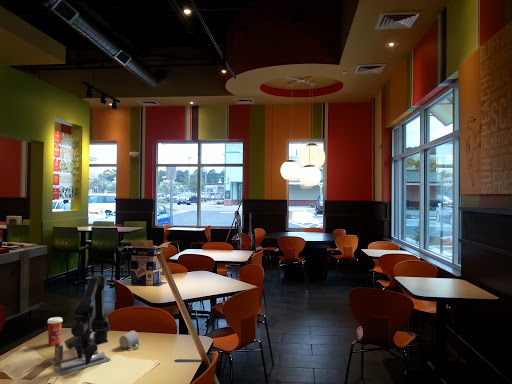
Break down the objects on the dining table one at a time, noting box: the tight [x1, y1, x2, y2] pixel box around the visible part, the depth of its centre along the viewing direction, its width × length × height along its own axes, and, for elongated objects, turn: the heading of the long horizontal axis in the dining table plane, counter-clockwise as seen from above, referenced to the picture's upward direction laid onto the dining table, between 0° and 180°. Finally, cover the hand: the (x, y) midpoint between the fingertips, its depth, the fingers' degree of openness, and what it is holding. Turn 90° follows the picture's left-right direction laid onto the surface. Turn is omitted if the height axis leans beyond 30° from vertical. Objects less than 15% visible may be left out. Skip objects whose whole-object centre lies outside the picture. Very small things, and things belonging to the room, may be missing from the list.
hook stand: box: [48, 337, 99, 367], centre depth 191 cm, size 21×8×8 cm, turn 135°
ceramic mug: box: [118, 330, 140, 350], centre depth 207 cm, size 11×8×8 cm
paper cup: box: [47, 316, 64, 347], centre depth 210 cm, size 8×8×14 cm
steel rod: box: [59, 351, 106, 370], centre depth 183 cm, size 20×3×3 cm, turn 135°
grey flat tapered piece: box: [53, 355, 112, 376], centre depth 183 cm, size 24×9×1 cm, turn 135°
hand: (83, 361), depth 183 cm, fingers open, 9 cm apart
